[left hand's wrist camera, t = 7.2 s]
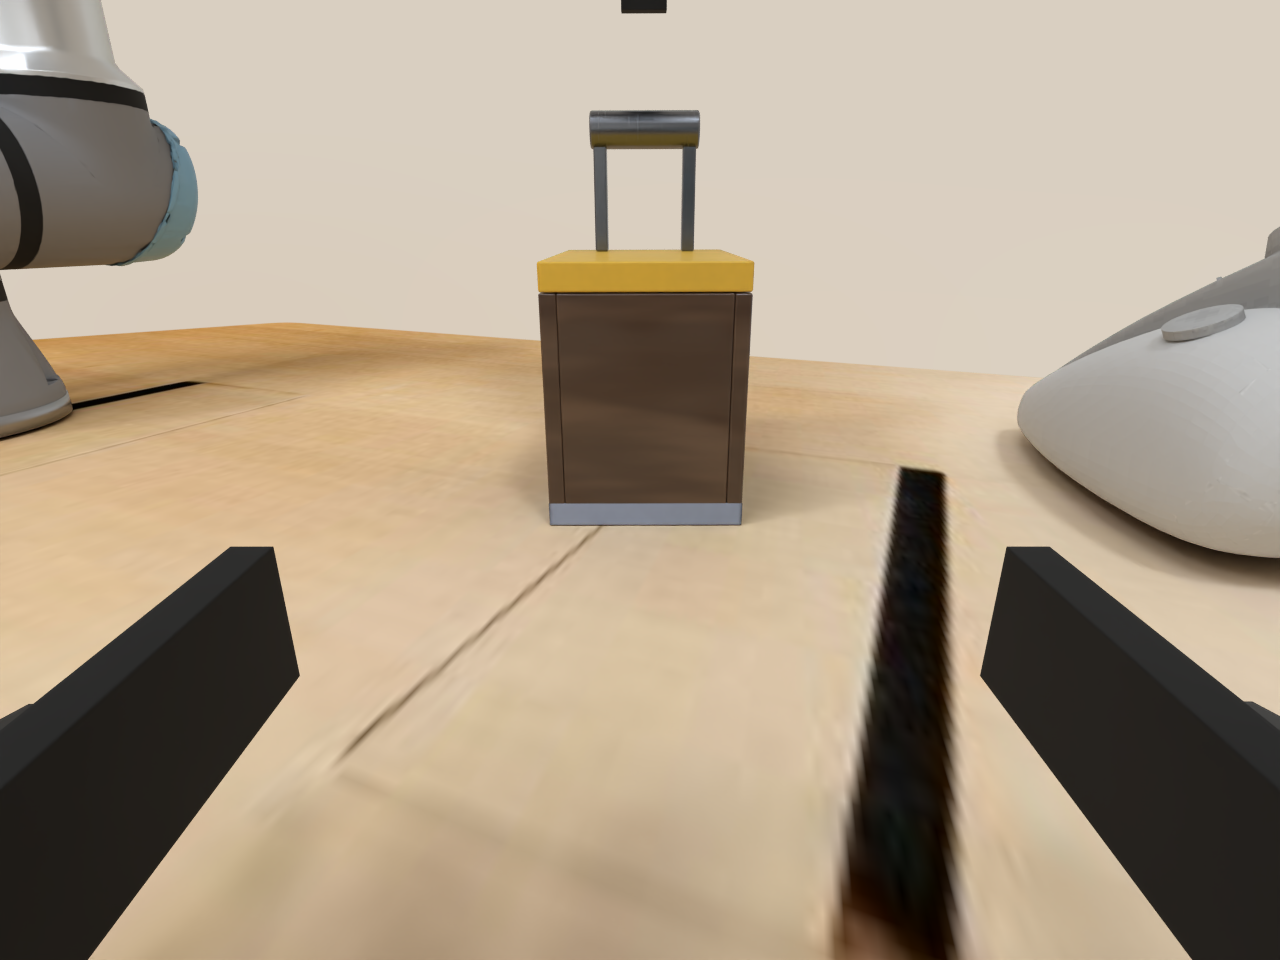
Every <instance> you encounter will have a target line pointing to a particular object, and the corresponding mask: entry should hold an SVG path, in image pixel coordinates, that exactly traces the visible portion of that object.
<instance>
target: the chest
mask: <svg viewBox="0 0 1280 960" xmlns="http://www.w3.org/2000/svg"><path fill="white" fill-rule="evenodd" d="M538 296H539V315H540V334H541V354H542V373H543V392H544V411H545V430H546V449H547V469H548V488H549V514H550V525H741V518H742V489H743V470H744V451H745V431H746V412H747V393H748V374H749V355H750V335H751V316H752V297H753V295H752V293H750V292H541V293H540V294H539V295H538Z"/></svg>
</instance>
